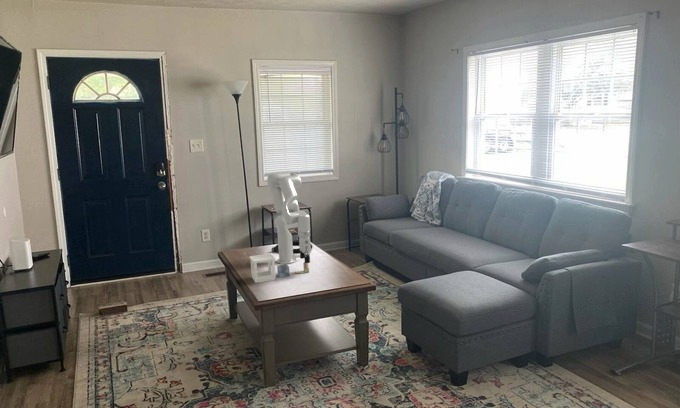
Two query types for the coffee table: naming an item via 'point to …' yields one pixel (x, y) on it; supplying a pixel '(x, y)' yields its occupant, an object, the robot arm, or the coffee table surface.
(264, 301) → the coffee table surface
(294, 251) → the cable lock
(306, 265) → the block
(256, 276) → the white open frame box
